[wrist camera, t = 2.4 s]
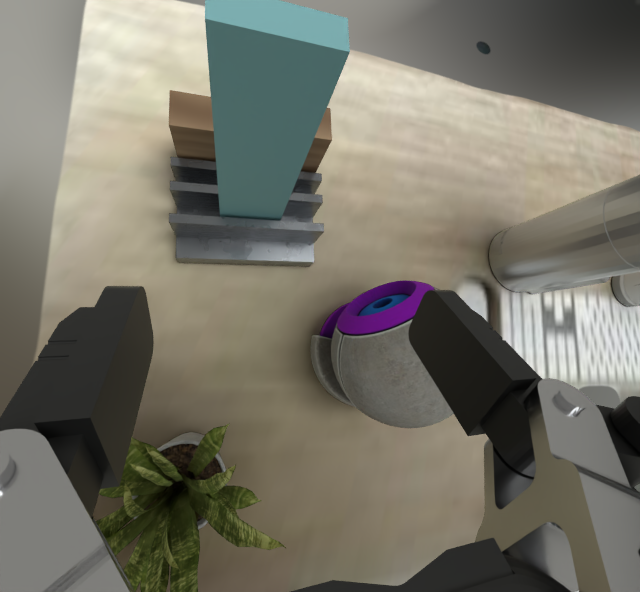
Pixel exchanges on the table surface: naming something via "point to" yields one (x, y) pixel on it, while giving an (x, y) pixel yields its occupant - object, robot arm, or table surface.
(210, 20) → the tall sheet
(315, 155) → the offcut stack
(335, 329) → the webcam
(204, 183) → the rack
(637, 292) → the travel mug
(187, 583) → the house plant
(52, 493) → the robot arm
